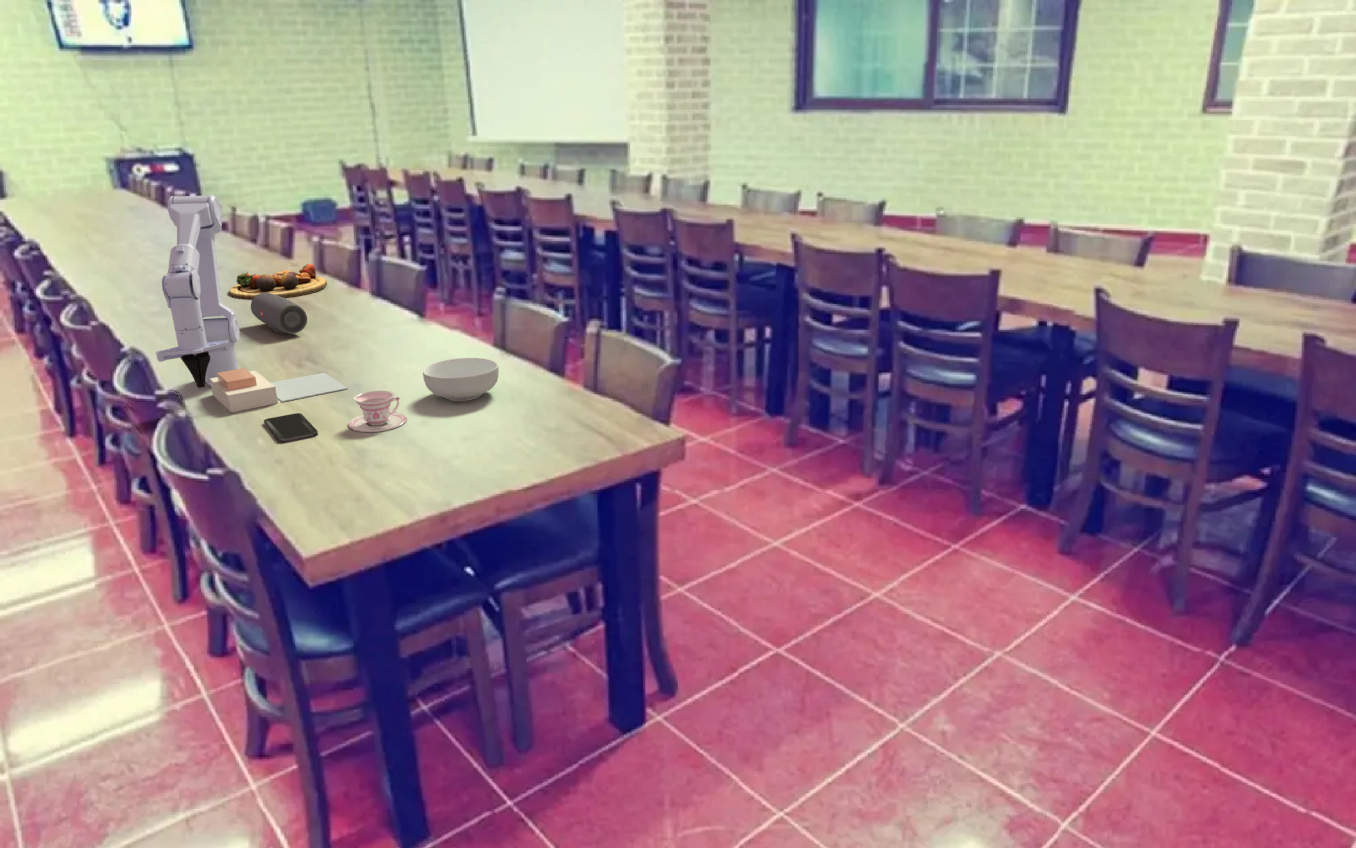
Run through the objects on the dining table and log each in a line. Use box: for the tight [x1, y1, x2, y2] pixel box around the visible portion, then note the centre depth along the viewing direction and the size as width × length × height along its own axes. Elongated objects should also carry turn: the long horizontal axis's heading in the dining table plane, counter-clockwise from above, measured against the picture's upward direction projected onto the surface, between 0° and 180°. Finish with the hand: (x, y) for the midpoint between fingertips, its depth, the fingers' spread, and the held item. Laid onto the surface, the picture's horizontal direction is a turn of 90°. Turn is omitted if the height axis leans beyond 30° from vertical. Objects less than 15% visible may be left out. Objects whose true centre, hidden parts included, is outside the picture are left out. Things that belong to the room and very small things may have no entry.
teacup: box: [347, 390, 408, 433], centre depth 198 cm, size 12×12×6 cm
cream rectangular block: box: [210, 370, 279, 413], centre depth 214 cm, size 16×10×4 cm, turn 38°
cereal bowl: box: [422, 357, 499, 402], centre depth 214 cm, size 17×17×7 cm
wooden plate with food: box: [228, 263, 328, 300], centre depth 326 cm, size 32×32×8 cm
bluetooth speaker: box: [250, 293, 308, 335], centre depth 272 cm, size 23×9×10 cm, turn 42°
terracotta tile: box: [217, 367, 257, 391], centre depth 212 cm, size 9×6×2 cm, turn 39°
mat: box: [271, 372, 349, 403], centre depth 222 cm, size 16×15×1 cm
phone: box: [263, 412, 319, 444], centre depth 196 cm, size 8×1×15 cm
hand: (200, 386), depth 208 cm, fingers closed
